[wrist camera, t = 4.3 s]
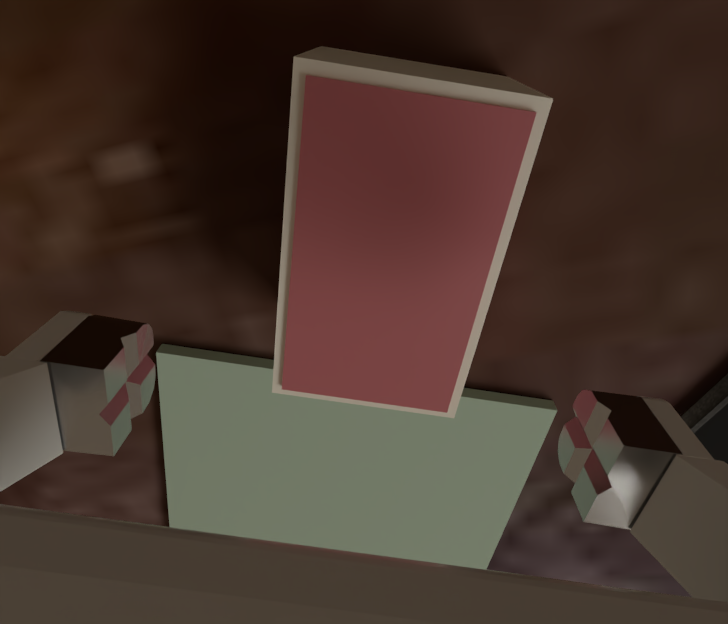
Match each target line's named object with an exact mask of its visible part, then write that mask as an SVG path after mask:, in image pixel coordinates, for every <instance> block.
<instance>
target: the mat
mask: <svg viewBox="0 0 728 624" xmlns="http://www.w3.org/2000/svg"><path fill="white" fill-rule="evenodd" d="M156 358H157V371H158V384H159V397H160V410H161V423H162V436H163V448H164V461H165V474H166V487H167V500H168V513H169V526H170V527H173V528H180V529H188V530H195V531H202V532H210V533H217V534H225V535H232V536H240V537H247V538H255V539H262V540H269V541H277V542H284V543H292V544H299V545H307V546H314V547H322V548H329V549H337V550H344V551H352V552H359V553H367V554H374V555H382V556H389V557H396V558H404V559H411V560H419V561H426V562H434V563H441V564H449V565H456V566H463V567H471V568H478V569H485V570H486V569H487V567H488V564H489V562H490V560H491V558H492V555H493V553H494V551H495V549H496V546H497V544H498V542H499V540H500V537H501V535H502V533H503V531H504V529H505V526H506V524H507V522H508V520H509V517H510V515H511V513H512V511H513V508H514V506H515V504H516V502H517V499H518V497H519V495H520V493H521V490H522V488H523V486H524V484H525V482H526V479H527V477H528V475H529V473H530V470H531V468H532V466H533V464H534V461H535V459H536V457H537V455H538V452H539V450H540V448H541V446H542V444H543V441H544V439H545V437H546V435H547V432H548V430H549V428H550V426H551V423H552V421H553V419H554V417H555V414H556V412H557V409H556V406H555V404H554V402H553V401H552V400H545V399H538V398H531V397H524V396H518V395H511V394H504V393H497V392H490V391H483V390H476V389H470V388H463V392H462V395H461V398H460V401H459V404H458V408H457V411H456V414H455V417H454V418H448V417H441V416H434V415H427V414H420V413H413V412H406V411H399V410H392V409H385V408H377V407H370V406H363V405H356V404H349V403H342V402H335V401H328V400H321V399H314V398H306V397H299V396H292V395H285V394H278V393H272V384H273V368H274V360H271V359H264V358H257V357H250V356H243V355H237V354H230V353H223V352H216V351H209V350H202V349H195V348H189V347H182V346H175V345H168V344H162V345H161V346H160V347H159V349H158V350H157V352H156Z"/></svg>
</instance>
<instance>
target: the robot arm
mask: <svg viewBox="0 0 728 624" xmlns="http://www.w3.org/2000/svg"><path fill="white" fill-rule="evenodd" d="M153 345H154V340H153V329H152V328H151V327H150V325H149V324H147V323H141V322H135V321H129V320H123V319H118V318H112V317H106V316H100V315H93V314H89V313H81V312H74V311H60V312H59V313H58V314H57V315H55V316H54V317H53V318H52V319H51V320H49V321H48V322H47V323H46V324H44V325H43V326H42V327H41V328H40V329H38V330H37V331H36V332H35V333H33V334H32V335H31V336H30V337H29V338H27V339H26V340H25V341H24V342H22V343H21V344H20V345H19V346H18V347H16V348H15V349H14V350H13V351H11V352H10V353H9V354H8V355H7V356H0V491H2V490H4V489H5V488H7V487H9V486H10V485H12V484H13V483H15V482H17V481H18V480H20V479H22V478H23V477H25V476H26V475H28V474H30V473H31V472H33V471H35V470H36V469H38V468H40V467H41V466H43V465H44V464H46V463H48V462H49V461H51V460H53V459H54V458H56V457H58V456H59V455H61V454H62V453H63V450H64V451H73V452H81V453H90V454H99V455H108V456H114V455H115V454H116V452H117V451H118V449H119V448H120V446H121V445H122V443H123V442H124V440H125V439H126V437H127V436H128V434H129V433H130V431H131V430H132V429H131V418H133V417H135V416H137V415H139V414H141V413H143V411H144V410H145V408H146V407H147V405H148V403H149V401H150V398H151V395H152V392H153V390H154V384H155V376H156V374H155V364H154V362H153V361H152V360H151V359H150V357H149V356H148V355H147V353H148V352H149V350H150V349H151V348H152V346H153ZM573 409H574V412H575V414H576V417H575V418H573V419H572V420H570V421H569V422H567V423H566V424H564V427H563V429H562V432H561V434H560V437H559V445H558V456H559V463H560V465H561V468H562V470H563V473H564V474H565V475H566V476H567V477H569V478H570V479H571V480H572V481H573V482H574V483H575V485H574V487H573V489H572V491H571V493H572V495H573V497H574V500H575V502H576V505H577V507H578V509H579V512H580V514H581V517H582V519H583V521H584V522H588V523H594V524H600V525H606V526H612V527H618V528H624V529H630V532H631V533H632V535H633V536H634V537H635V538H636V539H637V540H638V541H639V542H640V543H641V544H642V545H643V546H644V547H645V548H646V549H647V550H648V551H649V552H650V553H651V554H652V555H653V556H654V557H655V558H656V559H657V561H658V562H659V563H660V564H661V565H662V566H663V567H664V568H665V569H666V570H667V571H668V572H669V573H670V574H671V575H672V576H673V577H674V578H675V579H676V580H677V581H678V582H679V583H680V584H681V585H682V587H683V588H684V589H685V590H686V591H687V592H688V593H689V594H690V595H691V596H692V597H693V598H692V597H684V596H677V595H669V594H661V593H654V592H646V591H639V590H631V589H624V588H617V587H609V586H602V585H595V584H587V583H580V582H573V581H566V580H558V579H551V578H544V577H536V576H529V575H522V574H514V573H507V572H500V571H493V570H485V569H478V568H471V567H463V566H456V565H449V564H441V563H434V562H426V561H419V560H411V559H404V558H396V557H389V556H382V555H374V554H367V553H359V552H352V551H344V550H337V549H329V548H322V547H314V546H307V545H299V544H292V543H284V542H277V541H269V540H262V539H255V538H247V537H240V536H232V535H225V534H217V533H210V532H202V531H195V530H188V529H180V528H173V527H165V526H158V525H151V524H143V523H136V522H128V521H121V520H113V519H106V518H99V517H91V516H84V515H76V514H69V513H62V512H54V511H47V510H39V509H32V508H24V507H17V506H10V505H2V504H0V624H728V464H727V463H725V462H724V461H719V460H714V459H713V457H712V456H711V455H710V453H709V452H708V451H707V450H706V448H705V447H704V446H703V445H702V443H701V442H700V441H699V440H698V438H697V437H696V436H695V435H694V433H693V432H692V431H691V429H690V428H689V427H688V426H687V424H686V423H685V422H684V421H683V419H682V418H681V417H680V416H679V414H678V413H677V412H676V410H675V409H674V408H673V407H672V405H671V404H670V403H669V402H667V401H665V400H663V399H659V398H650V397H641V396H630V395H622V394H614V393H607V392H599V391H591V390H582V391H581V393H580V394H579V395H578V396H577V398H576V400H575V402H574V404H573Z"/></svg>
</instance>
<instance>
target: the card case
mask: <svg viewBox="0 0 728 624" xmlns="http://www.w3.org/2000/svg"><path fill="white" fill-rule="evenodd" d="M552 101H553V98H551V97H549V96H547V95H545V94H543V93H540V92H538V91H536V90H534V89H532V88H530V87H528V86H526V85H524V84H522V83H520V82H518V81H516V80H513V79H511V78H509V77H507V76H501V75H495V74H489V73H483V72H477V71H471V70H465V69H458V68H452V67H446V66H440V65H434V64H428V63H422V62H416V61H410V60H404V59H397V58H391V57H385V56H379V55H373V54H367V53H361V52H355V51H349V50H342V49H336V48H330V47H324V46H320V47H317V48H315V49H312V50H309V51H307V52H304V53H301V54H299V55H296V56H294V58H293V74H292V89H291V105H290V120H289V136H288V151H287V167H286V182H285V198H284V213H283V229H282V244H281V260H280V275H279V291H278V306H277V322H276V337H275V353H274V368H273V384H272V393H278V394H285V395H292V396H299V397H306V398H314V399H321V400H328V401H335V402H342V403H349V404H356V405H363V406H370V407H377V408H385V409H392V410H399V411H406V412H413V413H420V414H427V415H434V416H441V417H448V418H454V417H455V414H456V411H457V408H458V404H459V401H460V398H461V395H462V392H463V388H464V385H465V382H466V379H467V375H468V372H469V369H470V366H471V363H472V359H473V356H474V353H475V350H476V346H477V343H478V340H479V337H480V334H481V330H482V327H483V324H484V321H485V317H486V314H487V311H488V308H489V304H490V301H491V298H492V295H493V292H494V288H495V285H496V282H497V279H498V275H499V272H500V269H501V266H502V263H503V259H504V256H505V253H506V250H507V246H508V243H509V240H510V237H511V234H512V230H513V227H514V224H515V221H516V217H517V214H518V211H519V208H520V205H521V201H522V198H523V195H524V192H525V188H526V185H527V182H528V179H529V175H530V172H531V169H532V166H533V163H534V159H535V156H536V153H537V150H538V146H539V143H540V140H541V137H542V134H543V130H544V127H545V124H546V121H547V117H548V114H549V111H550V108H551V105H552Z"/></svg>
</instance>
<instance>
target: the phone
mask: <svg viewBox="0 0 728 624" xmlns="http://www.w3.org/2000/svg"><path fill="white" fill-rule="evenodd" d="M681 418H682V419H683V421H684V422H685V423H686V424H687V426H688V427H689V428H690V429H691V431H692V432H693V433H694V435H695V436H696V437H697V438H698V440H699V441H700V442H701V443H702V445H703V446H704V447H705V448H706V450H707V451H708V452H709V453H710V455H711V456H712V457H713V459H714V460H719V461H724V462H725V463H727V464H728V374H727V375H726V376H725V377H723V378H722V379H721V380H720V381H719V382H718V383H717V384H716V385H715V386H714V387H713V388H711V389H710V390H709V391H708V392H707V393H706V394H705V395H704V396H703V397H702V398H701V399H699V400H698V401H697V402H696V403H695V404H694V405H693V406H692V407H691V408H690V409H689V410H688V411H686V412H685V413H684V414H683V415H682V416H681Z"/></svg>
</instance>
